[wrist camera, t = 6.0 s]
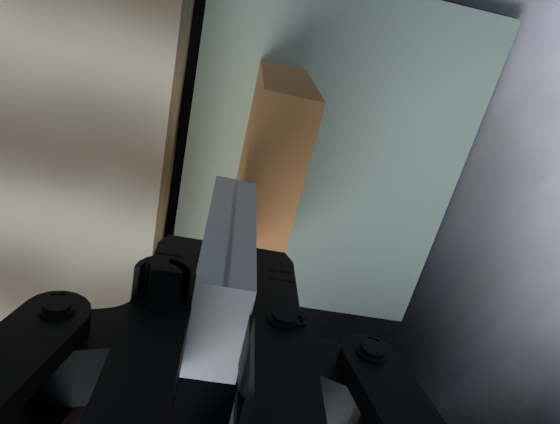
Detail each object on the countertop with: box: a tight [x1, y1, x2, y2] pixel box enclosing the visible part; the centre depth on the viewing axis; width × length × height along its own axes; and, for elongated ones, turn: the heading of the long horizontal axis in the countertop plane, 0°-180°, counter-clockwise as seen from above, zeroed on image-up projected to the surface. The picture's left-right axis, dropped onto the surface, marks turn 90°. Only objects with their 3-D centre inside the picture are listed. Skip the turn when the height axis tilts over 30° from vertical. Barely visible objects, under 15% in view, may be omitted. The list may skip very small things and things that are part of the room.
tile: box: [236, 60, 326, 253], centre depth 20 cm, size 9×6×2 cm
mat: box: [174, 0, 522, 321], centre depth 23 cm, size 16×13×1 cm
